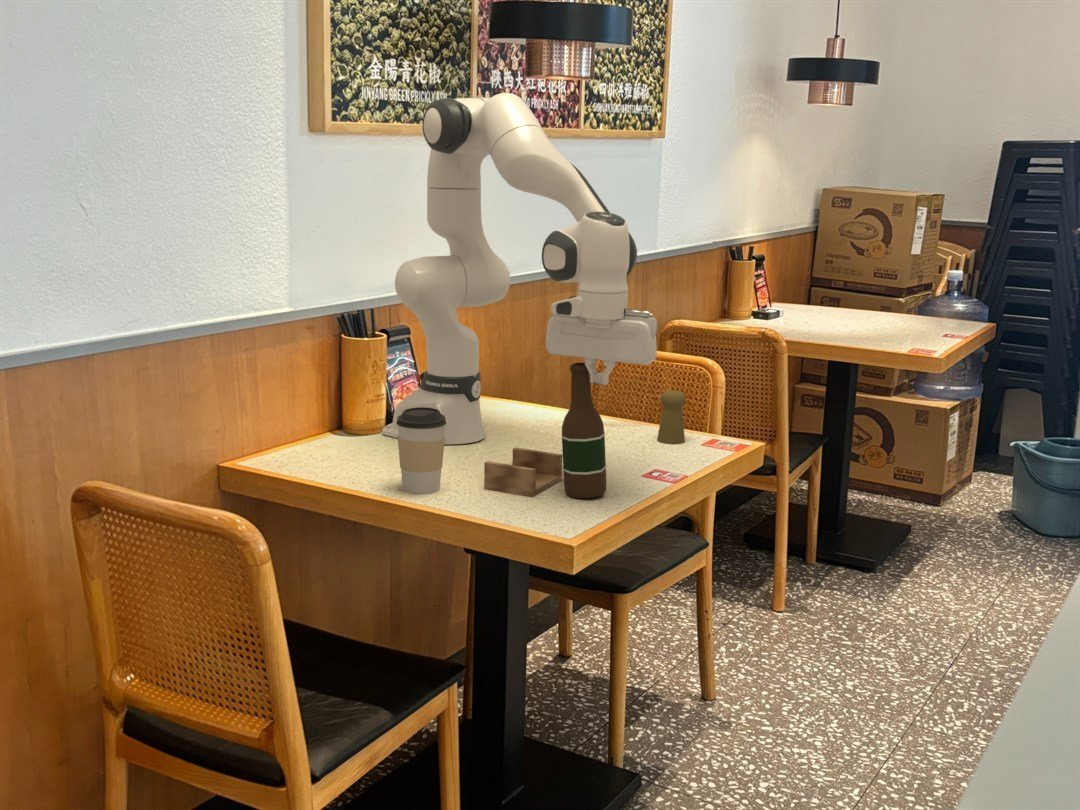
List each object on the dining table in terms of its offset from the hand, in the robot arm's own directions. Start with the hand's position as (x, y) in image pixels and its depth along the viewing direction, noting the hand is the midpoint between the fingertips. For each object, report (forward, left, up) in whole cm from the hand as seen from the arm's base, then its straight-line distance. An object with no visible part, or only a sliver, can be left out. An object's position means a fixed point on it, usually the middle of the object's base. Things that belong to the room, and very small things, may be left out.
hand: (599, 383), depth 205 cm
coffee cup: (-30, -12, -21) cm, 38 cm away
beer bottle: (-2, 0, -21) cm, 21 cm away
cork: (-2, +45, -21) cm, 50 cm away
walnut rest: (-15, 0, -21) cm, 26 cm away
